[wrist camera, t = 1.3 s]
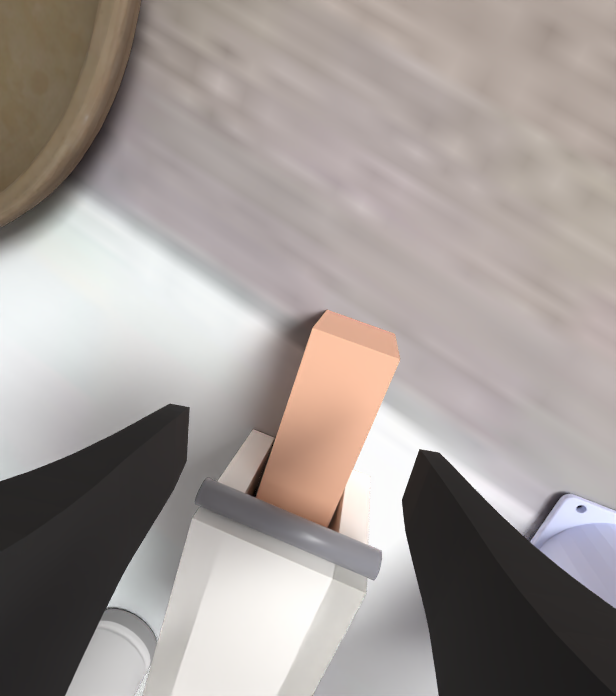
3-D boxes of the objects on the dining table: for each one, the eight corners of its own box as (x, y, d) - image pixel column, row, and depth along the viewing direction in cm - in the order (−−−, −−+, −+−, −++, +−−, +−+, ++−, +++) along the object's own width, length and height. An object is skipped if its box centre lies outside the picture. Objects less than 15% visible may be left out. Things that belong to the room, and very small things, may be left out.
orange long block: (394, 333, 20) (400, 359, 15) (308, 541, 25) (291, 610, 20) (327, 309, 20) (312, 327, 16) (255, 519, 25) (227, 582, 21)
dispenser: (380, 462, 22) (382, 575, 14) (306, 619, 27) (278, 767, 19) (255, 412, 23) (193, 494, 15) (204, 574, 27) (137, 699, 20)
